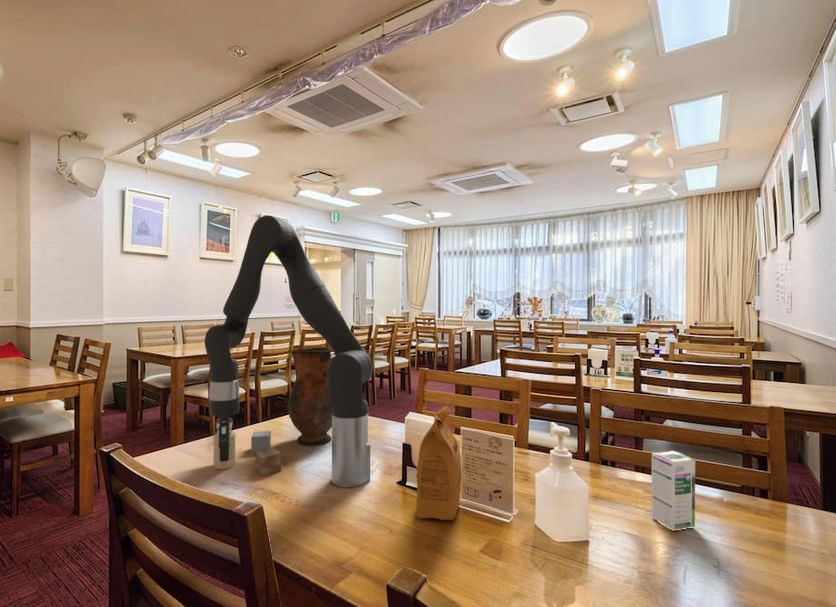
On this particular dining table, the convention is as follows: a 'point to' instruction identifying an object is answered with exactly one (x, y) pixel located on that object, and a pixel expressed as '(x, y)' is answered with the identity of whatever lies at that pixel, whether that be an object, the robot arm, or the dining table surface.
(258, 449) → the slate block
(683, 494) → the syrup box
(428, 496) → the coffee package
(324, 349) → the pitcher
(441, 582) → the dining table surface
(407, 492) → the dining table surface
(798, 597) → the dining table surface
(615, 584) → the dining table surface
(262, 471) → the walnut block
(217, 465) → the candle
